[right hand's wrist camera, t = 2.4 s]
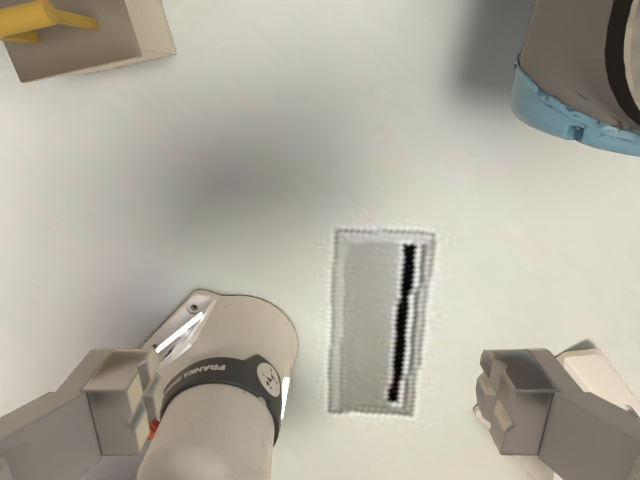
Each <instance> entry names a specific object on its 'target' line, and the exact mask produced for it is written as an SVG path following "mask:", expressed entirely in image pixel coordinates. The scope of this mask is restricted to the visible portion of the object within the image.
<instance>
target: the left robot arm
mask: <svg viewBox="0 0 640 480" xmlns="http://www.w3.org/2000/svg"><path fill="white" fill-rule="evenodd" d="M515 71H516V73H515V77H514V82H513V86H512V91H511V96H510V105H511V108H512V111H513V113H514V114H515V115H516V117H517V118H518V119H520V120H521V121H522V122H524V123H525V124H527V125H529V126H531V127H533V128H535V129H538V130H540V131H542V132H545V133H548V134H550V135H553V136H556V137H560V138H563V139H568V140H576V141H578V142H580V143H582V144H585V145H588V146H591V147H594V148H598V149H602V150H606V151H611V152H616V153H620V154H625V155H631V156H637V157H640V0H535V4H534V8H533V11H532V15H531V18H530V22H529V26H528V29H527V33H526V36H525V40H524V43H523V47H522V50H521V52H520V53H519V54H518V56H517V58H516V61H515Z"/></svg>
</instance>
